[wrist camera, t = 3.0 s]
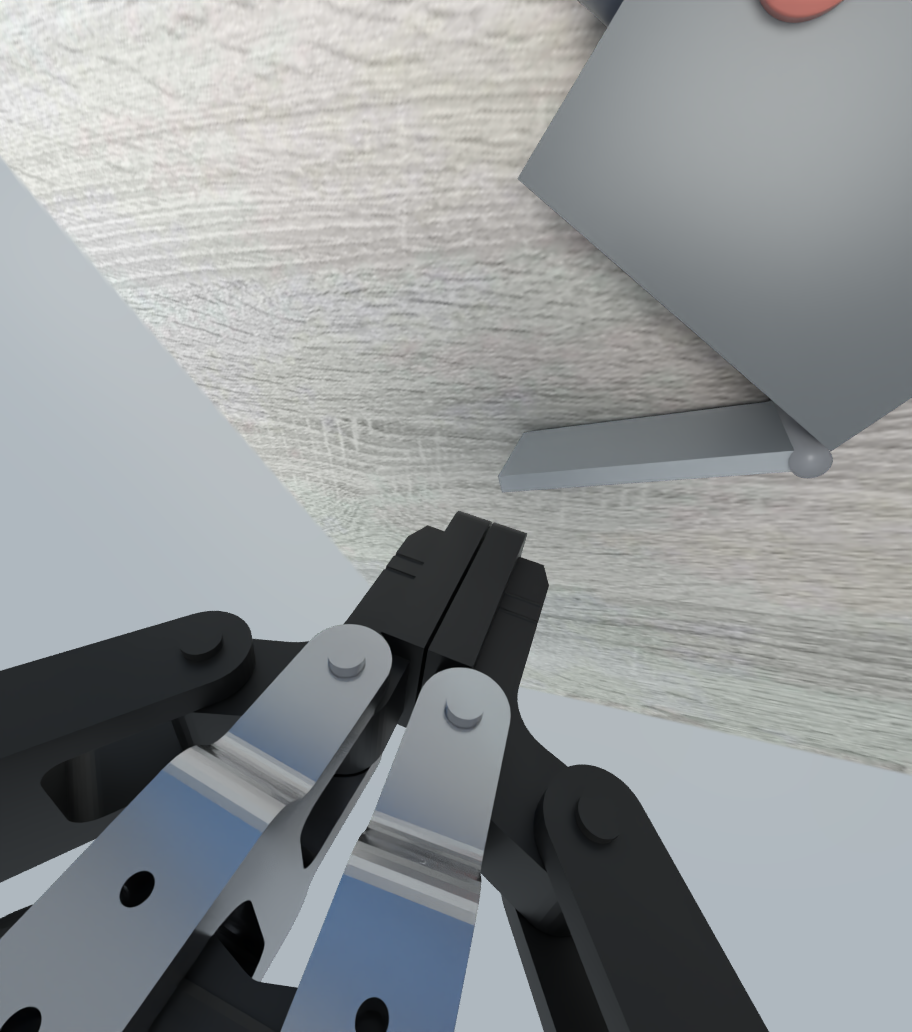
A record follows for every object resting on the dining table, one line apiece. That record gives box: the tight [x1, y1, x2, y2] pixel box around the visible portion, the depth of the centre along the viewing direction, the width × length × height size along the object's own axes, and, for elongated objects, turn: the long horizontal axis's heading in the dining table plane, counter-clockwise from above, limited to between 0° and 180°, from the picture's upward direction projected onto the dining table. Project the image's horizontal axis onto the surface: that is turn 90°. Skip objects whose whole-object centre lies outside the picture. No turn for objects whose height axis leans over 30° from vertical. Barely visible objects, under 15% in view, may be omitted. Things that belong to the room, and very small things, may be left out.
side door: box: [498, 400, 833, 492], centre depth 21 cm, size 12×1×5 cm, turn 106°
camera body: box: [518, 0, 912, 451], centre depth 14 cm, size 15×10×7 cm, turn 56°
